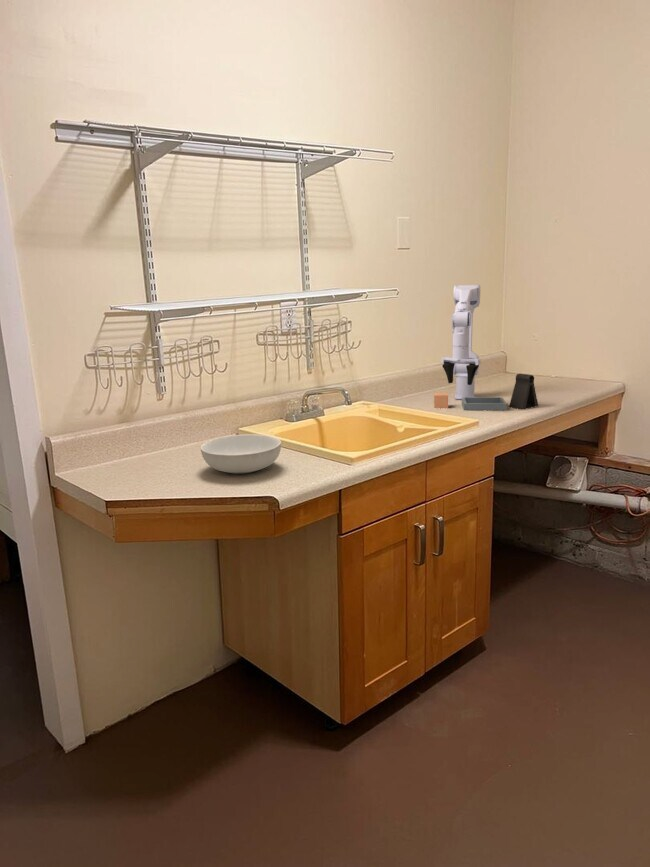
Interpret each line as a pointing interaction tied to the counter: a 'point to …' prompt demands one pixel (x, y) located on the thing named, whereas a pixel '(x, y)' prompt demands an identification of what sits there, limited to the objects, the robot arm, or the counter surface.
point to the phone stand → (524, 392)
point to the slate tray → (484, 403)
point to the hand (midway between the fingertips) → (460, 383)
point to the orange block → (441, 400)
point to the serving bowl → (241, 452)
